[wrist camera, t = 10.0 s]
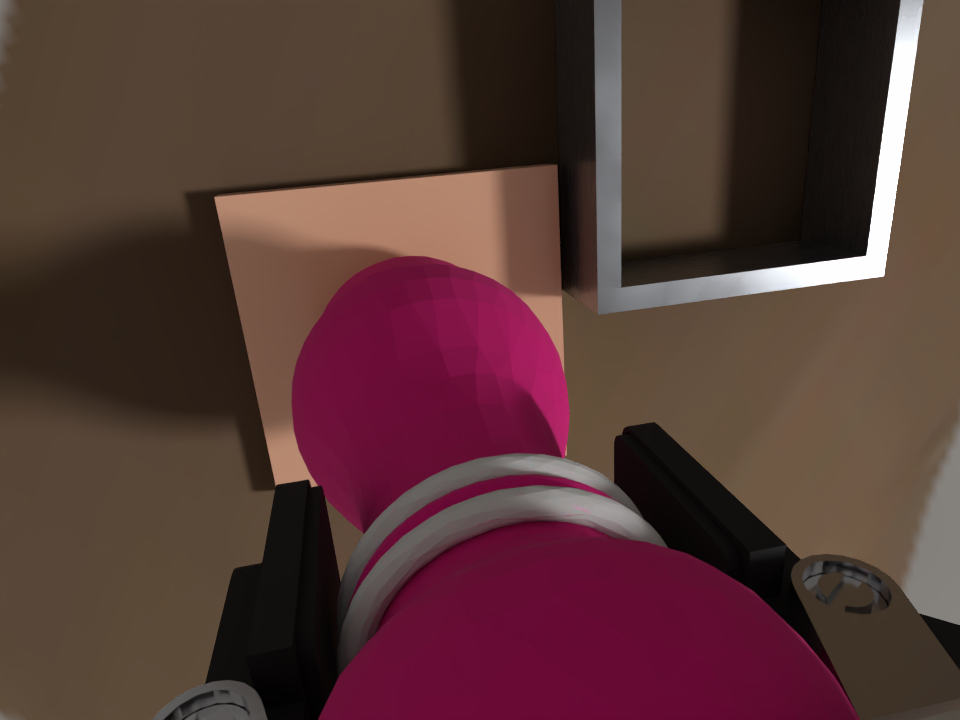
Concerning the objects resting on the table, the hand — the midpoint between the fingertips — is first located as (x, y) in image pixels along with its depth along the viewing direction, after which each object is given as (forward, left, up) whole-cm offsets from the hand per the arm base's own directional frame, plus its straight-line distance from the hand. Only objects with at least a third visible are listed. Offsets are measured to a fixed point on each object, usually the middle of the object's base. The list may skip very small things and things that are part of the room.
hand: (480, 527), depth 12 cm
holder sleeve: (-6, +11, -13) cm, 18 cm away
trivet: (0, 0, -13) cm, 13 cm away
